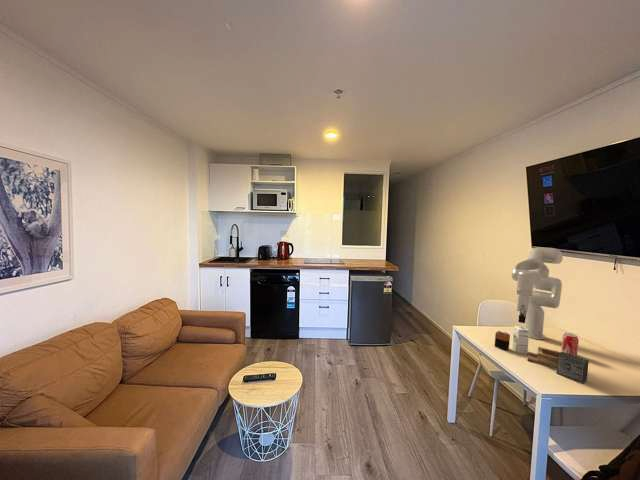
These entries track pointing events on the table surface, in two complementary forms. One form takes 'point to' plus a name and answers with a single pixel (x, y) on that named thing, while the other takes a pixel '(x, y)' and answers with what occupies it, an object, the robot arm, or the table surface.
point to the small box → (572, 367)
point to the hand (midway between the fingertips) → (522, 320)
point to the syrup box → (520, 339)
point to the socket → (544, 357)
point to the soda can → (570, 343)
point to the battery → (502, 340)
